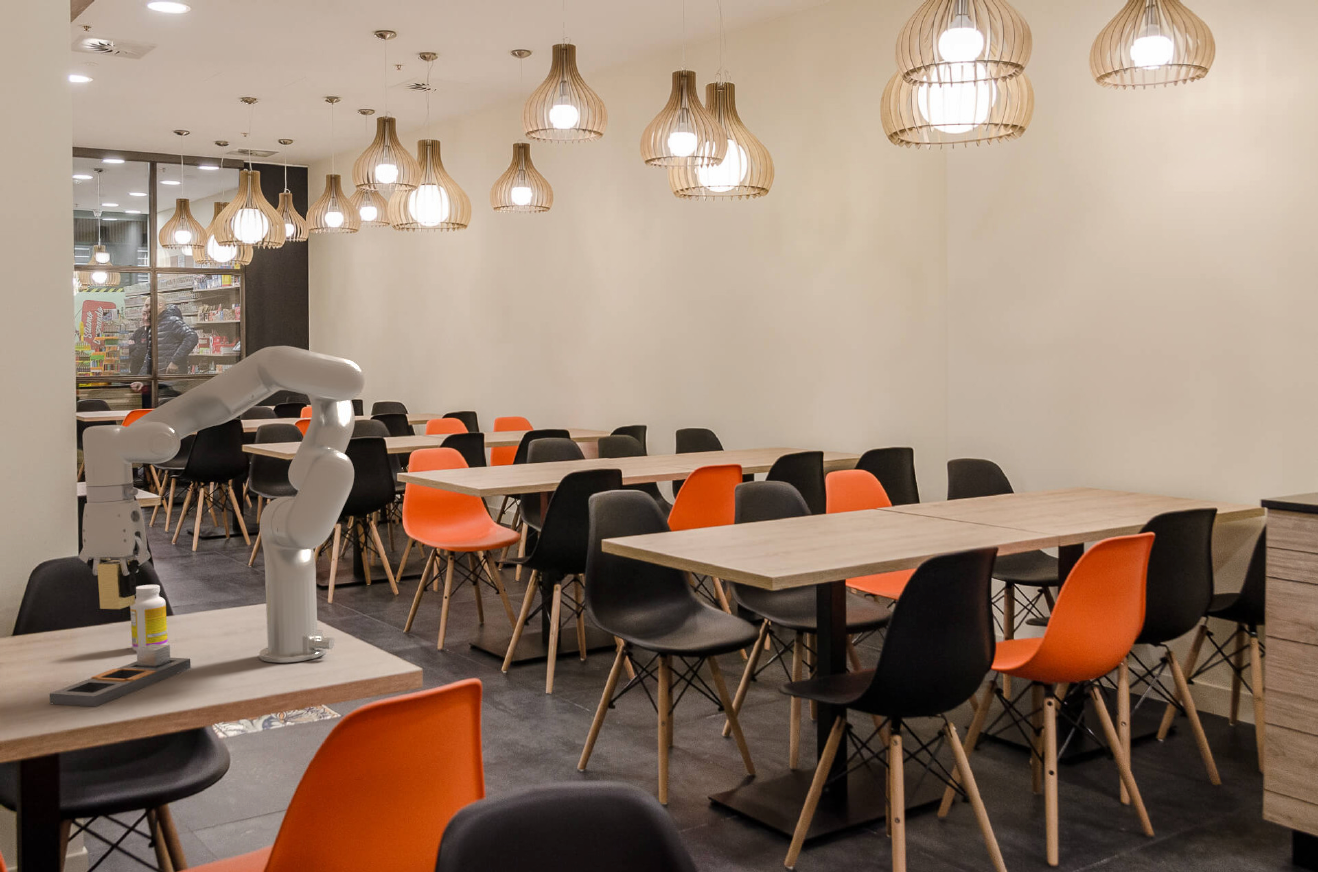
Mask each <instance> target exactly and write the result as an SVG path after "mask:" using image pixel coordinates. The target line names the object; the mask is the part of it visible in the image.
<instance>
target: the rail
mask: <svg viewBox="0 0 1318 872" xmlns="http://www.w3.org/2000/svg"><path fill="white" fill-rule="evenodd" d="M191 666H192V665H191V658H188V657H187V658H186V657H185V658H184V657H170V663H169V664H166V665H164V666H161V667H159V668H144V667H137V660H136V661H134V662H131V663H129V664H126V665H122V666H120V667H118V668H112V669H109V670H106V671H104V672H100V673H99V674H95V675H93V676H91V677H90V678H88V679H85V680H82V681H79V682H77V683H74V684H71V685H69V686H67V687H63V688H60V689H58V690H55V691H52V692H50V693H49V704H50V703H54V704H53V705H60V704H63V705H64V706H75V705H80V706H79V707H91V708H92V707H93V708H95V707H97V705H98V706H100V705H103V704H105V703H108V702H110V701H113V700H116V699H118V698H120V697H122V696H125V695H127V694H130V693H132V692H135V691H137V690H139V689H143V688H145V687H147V686H150V685H152V684H154V683H157V682H160V681H162V680H165V679H167V678H168V677H171V676H174V675H177V674H179V673H182V672H184V671H187V670H188V669H189V670H190V669H191V668H192V667H191Z"/></svg>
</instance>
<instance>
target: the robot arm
mask: <svg viewBox="0 0 1318 872" xmlns="http://www.w3.org/2000/svg"><path fill="white" fill-rule="evenodd" d="M364 385H365V375H364V373H363V370H362V369H361V367H360V366H359V365H358V364H357V363H356V362H355V361H353V360H351V359H349V358H344V357H340V356H335V355H332V354H326V353H321V352H317V351H313V350H309V349H304V348H300V347H295V346H291V345H289V346H288V345H275V346H266V347H264V348H261V349H259V350H257V351H255V352H253V353H251V354H250V355H249V356H246V357H245V358H243V359H241V360H240V361H239V362H237V363H235V364H234V365H232V366H230V367H229V368H227V369H225V370H224V371H222V372H220V373H218V374H217V375H215V376H213V377H211V378H210V379H208V380H206V381H204V382H203V383H201V384H199V385H197V386H195V387H193V388H191V389H189V390H187V391H186V392H184V393H182V394H180V395H178V396H176V397H175V398H172V399H170V400H169V401H167V402H165V403H163V404H162V405H160V406H158V407H156V408H154V409H152V410H151V411H149V412H148V413H146V414H144V415H143V416H141V417H139V418H138V419H136V420H134V421H133V422H131V423H130V424H129V425H128V426H125V425H121V424H110V425H109V424H108V425H107V424H106V425H92V426H89V427H86V428H85V429H84V430H83V432H82V447H83V448H82V449H83V461H84V475H85V476H84V477H85V490H86V491H85V492H86V502H87V503H84V508H83V515H82V549H81V551H80V553H79V555H78V559H80V560H81V561H82V562H84V563H85V564H86V565H87V566H88V567H89V568H90V569H91V570H92V574H93V576H96V585H97V586H96V587H97V596H98V598H99V584H98V569H97V564H100V563H104V562H108V561H111V559H113V560H119V561H120V565H121V569H122V573H123V575H122V576H120V585H121V597H122V598H126V597H130V596H133V595H135V594H136V587H137V582H136V581H137V580H136V574H137V573H138V572H139V570H140V568H141V566H142V565H143V564H144V563H146V562H147V561H149V559H150V558H152V555H151V552H149V550H148V540H147V531H146V527H145V521H144V515H143V511H142V508H141V505H140V502H139V500H135V496H138V495H139V490H138V488H137V487H134V479H133V478H134V477H133V464H138V463H139V464H140V463H141V464H162V463H165V462H168V461H171V460H172V459H173V458H174V457H175V456H176V455H177V454H178V452H179V451H180V448H181V440H183V439H184V438H186V437H189V436H190V435H192V434H194V433H196V432H199V431H202V430H203V429H204V430H205V429H206V428H207V429H208V428H210V427H213V426H220V425H222V424H225V423H227V422H229V421H232V420H234V419H235V418H238V417H239V416H240V415H242V414H244V413H246V412H247V411H248V410H250V409H251V408H252V407H254V406H256V405H258V404H260V403H261V402H262V401H264V400H266V399H268V398H269V397H271V396H272V395H274V394H275V393H277V392H279V391H289V392H295V393H298V394H302V395H307V398H308V399H309V403H310V405H311V418H310V422H309V424H308V427H307V428H306V429H307V430H306V431H305V434H304V436H303V438H302V440H301V443H300V444H299V446H298V448H297V450H296V452H295V454H294V456H293V459H292V460H291V463H290V464H289V468H288V471H287V474H288V476H287V477H288V481H289V484H290V485H291V486H292V488H294V489H295V490H296V491H297V493H296V495H295V496H281V497H277V498H275V499H273V500H270V502H268V503H267V504H266V505H265V507H264V508H263V509H262V512H261V515H260V518H259V532H260V540H261V546H262V549H263V550H262V551H263V557H264V559H263V560H264V572H265V573H264V575H265V577H264V579H265V581H264V582H265V583H264V584H265V601H266V602H265V605H266V607H265V609H266V610H265V611H266V632H267V633H266V635H267V640H266V641H267V647H265V648H263V649H261V650H260V651H259V658H260V660H261V661H264V662H268V663H297V662H304V661H309V660H313V659H317V658H320V657H321V656H324V655H326V653H327V650H333V648H335V647H334V646H335V638H334V637H325V636H323V635H324V634H323V629H321V630H320V629H318V607H317V606H318V605H317V603H318V602H317V578H316V577H317V568H316V567H317V566H316V559H315V551H314V549H316V548H318V547H320V546H322V545H323V544H324V543H325V542H326V541H327V540H328V539H329V537H330V536H331V534H332V532H333V530H334V528H335V526H336V525H337V522H338V519H339V517H340V515H341V513H342V511H343V508H344V506H345V504H346V503H347V500H348V498H349V495H350V493H351V491H352V489H353V485H354V479H355V469H354V466H353V464H354V463H353V462H352V460H351V459H350V457H349V456H348V455H347V454H345V453H346V450H348V449H347V448H348V446H349V443H350V441H351V438H352V436H353V432H354V429H355V421H356V419H355V418H356V416H355V411H354V410H355V409H354V405H353V402H352V400H354V399H356V398H357V397H358V396H359V395H360V393H362V391H363V389H364ZM136 556H137V557H136ZM127 560H129V565H128V561H127ZM135 596H136V595H135Z"/></svg>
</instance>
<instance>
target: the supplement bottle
mask: <svg viewBox="0 0 1318 872" xmlns="http://www.w3.org/2000/svg"><path fill="white" fill-rule="evenodd" d="M160 591H161V586H160V585H159V584H145V585H144V584H143V585H137V586H136V594H135V597H136V598H135V604H134V605H131V606H129V608H130V627H131V629H130V630H131V646H132V650H133V651H135V652H137V649H139V648H142V647H145V646H148V645H151V644H157V645H169V642H168V623H167V622H168V621H167V605H166V603H167V602H166V600H165V598H163V597H161V596H160Z"/></svg>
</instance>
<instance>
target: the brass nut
mask: <svg viewBox="0 0 1318 872" xmlns="http://www.w3.org/2000/svg"><path fill="white" fill-rule="evenodd" d="M127 561H128V565H129V560H127ZM97 569H98V584H99V597H98V598H99V609H101V610H102V609H103V610H104V609H105V610H121V609H124V608H127V607H130V606H131V605H134V604H135V599H136V598H135V597H136V595H133V596H130V597H126V598H122V597H121V585H120V576H122V575H123V573H122V569H121V565H120V561H119V559H113V560H111V559H110V561H108V562H104V563H102V562H101V563H100V564H97Z"/></svg>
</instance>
